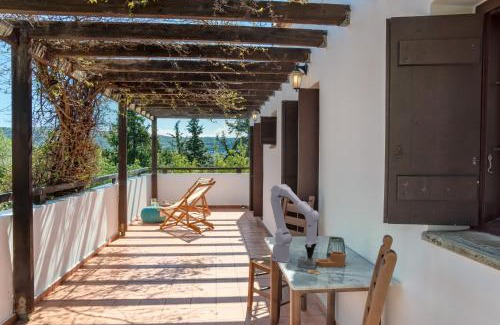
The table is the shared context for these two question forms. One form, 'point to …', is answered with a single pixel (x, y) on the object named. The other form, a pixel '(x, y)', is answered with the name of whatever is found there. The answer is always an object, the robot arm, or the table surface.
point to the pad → (313, 272)
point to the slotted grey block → (309, 261)
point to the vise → (303, 263)
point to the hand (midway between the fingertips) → (310, 257)
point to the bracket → (332, 260)
